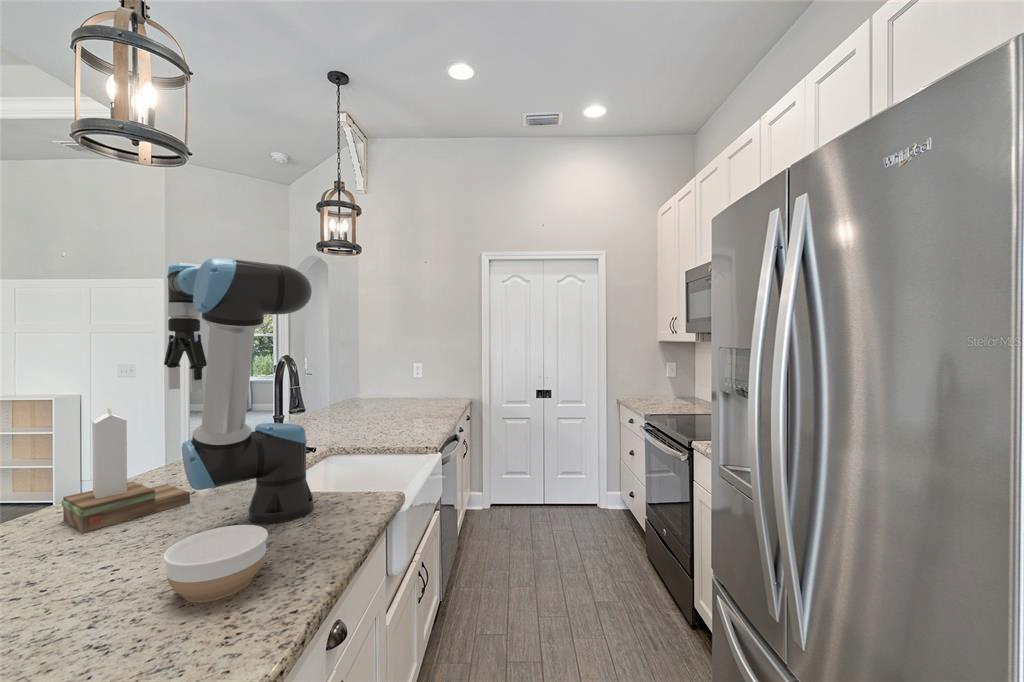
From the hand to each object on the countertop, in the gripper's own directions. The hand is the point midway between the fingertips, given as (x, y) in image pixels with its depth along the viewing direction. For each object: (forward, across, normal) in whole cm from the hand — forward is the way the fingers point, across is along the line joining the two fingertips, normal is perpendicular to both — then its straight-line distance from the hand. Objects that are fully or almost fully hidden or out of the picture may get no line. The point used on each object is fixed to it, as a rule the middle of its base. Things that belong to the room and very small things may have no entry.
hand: (185, 390), depth 129 cm
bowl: (+31, -61, +20) cm, 71 cm away
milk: (+25, -2, +18) cm, 31 cm away
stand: (+31, -2, +14) cm, 34 cm away
